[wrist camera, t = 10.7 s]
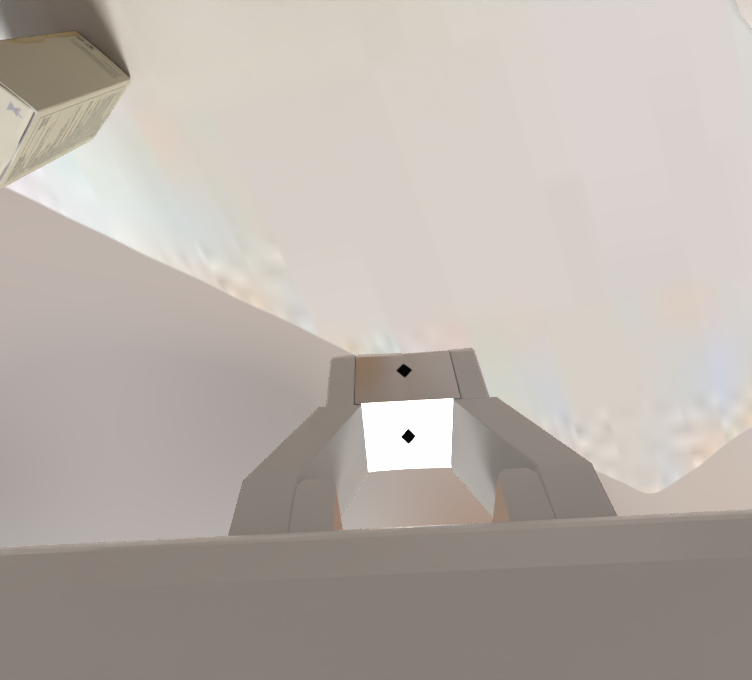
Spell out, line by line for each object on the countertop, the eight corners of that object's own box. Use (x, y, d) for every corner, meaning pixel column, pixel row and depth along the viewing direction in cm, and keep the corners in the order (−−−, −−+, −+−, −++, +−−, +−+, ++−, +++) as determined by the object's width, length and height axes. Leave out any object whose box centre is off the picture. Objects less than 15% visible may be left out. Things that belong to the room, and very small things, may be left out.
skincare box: (75, 28, 33) (-53, 36, 23) (135, 80, 34) (40, 109, 24) (35, 100, 35) (-97, 136, 25) (93, 146, 37) (-9, 196, 27)
